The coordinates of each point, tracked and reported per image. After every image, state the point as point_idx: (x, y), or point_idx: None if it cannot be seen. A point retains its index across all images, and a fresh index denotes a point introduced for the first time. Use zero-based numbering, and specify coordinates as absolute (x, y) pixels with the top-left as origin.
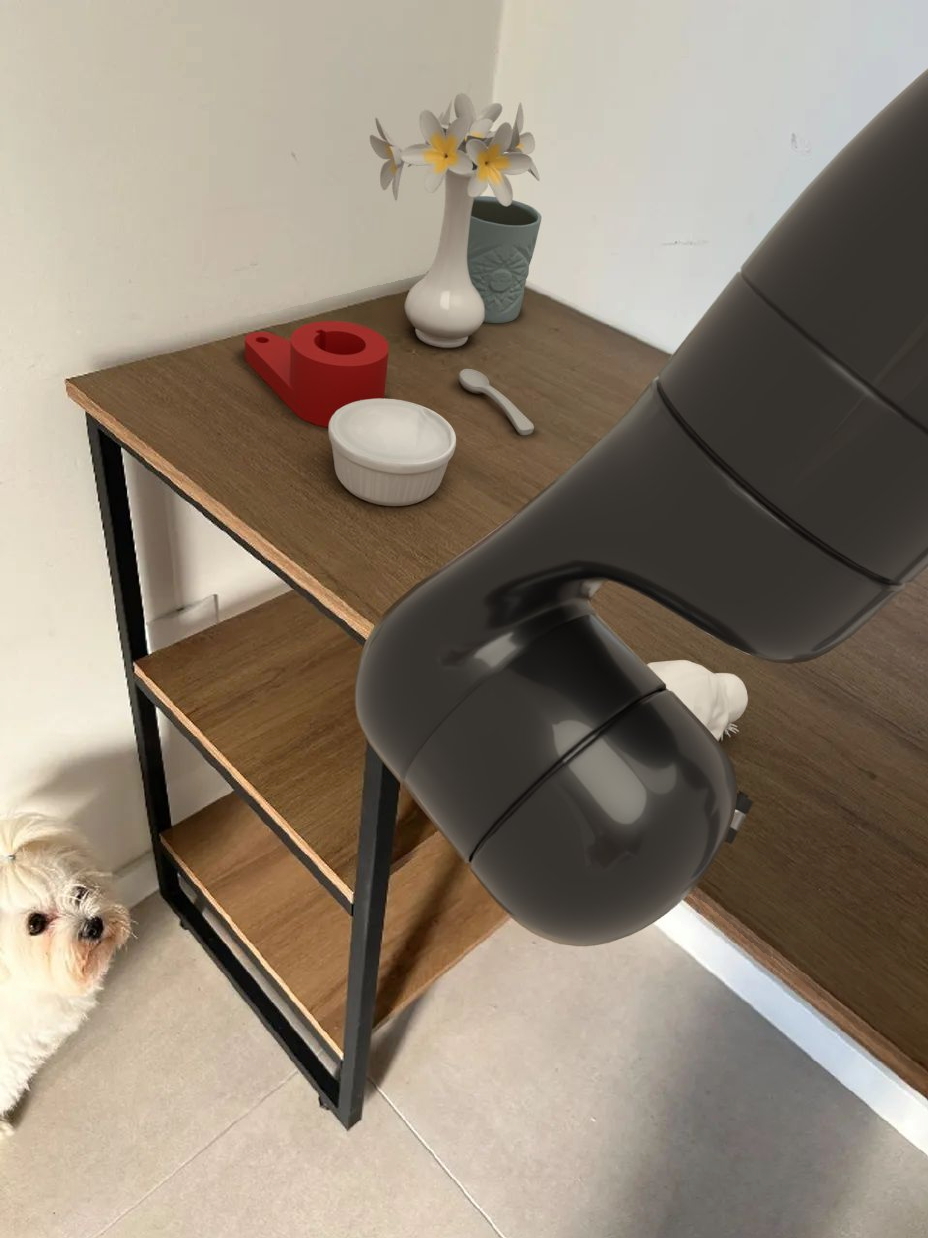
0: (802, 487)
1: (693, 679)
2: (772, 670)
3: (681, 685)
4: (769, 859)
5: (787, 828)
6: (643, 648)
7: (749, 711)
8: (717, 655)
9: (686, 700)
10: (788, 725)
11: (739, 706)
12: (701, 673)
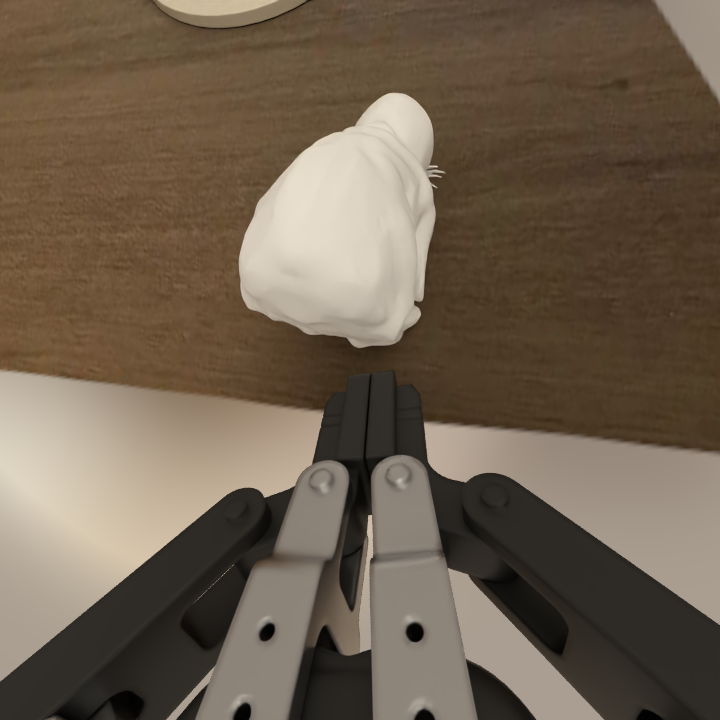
0: None
1: (339, 191)
2: (418, 39)
3: (327, 227)
4: (586, 321)
5: (577, 255)
6: (268, 143)
7: None
8: (348, 76)
9: (357, 249)
10: (483, 101)
11: (426, 139)
12: (344, 158)
